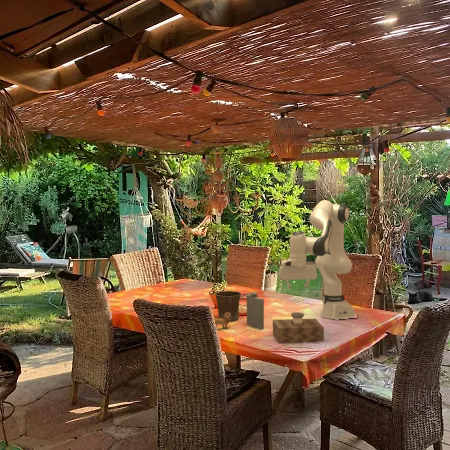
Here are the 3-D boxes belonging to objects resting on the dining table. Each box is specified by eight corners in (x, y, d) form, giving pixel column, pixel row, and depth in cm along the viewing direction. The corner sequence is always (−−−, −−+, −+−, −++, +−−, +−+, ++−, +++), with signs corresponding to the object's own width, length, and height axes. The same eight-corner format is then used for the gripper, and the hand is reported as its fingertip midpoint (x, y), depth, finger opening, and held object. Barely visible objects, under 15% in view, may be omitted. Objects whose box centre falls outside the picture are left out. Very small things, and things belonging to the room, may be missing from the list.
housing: (315, 332, 260) (315, 318, 259) (323, 341, 244) (323, 326, 243) (272, 334, 258) (272, 319, 257) (278, 343, 242) (278, 328, 241)
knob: (302, 324, 254) (302, 312, 254) (305, 328, 247) (305, 315, 247) (289, 324, 254) (290, 312, 253) (292, 328, 247) (292, 315, 246)
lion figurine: (228, 326, 274) (228, 311, 273) (233, 328, 269) (233, 313, 268) (206, 330, 266) (206, 314, 265) (211, 332, 261) (211, 316, 261)
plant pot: (211, 317, 294) (211, 291, 292) (235, 314, 300) (234, 289, 298) (220, 323, 278) (220, 297, 277) (245, 320, 284) (245, 294, 283)
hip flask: (264, 329, 267) (264, 294, 266) (258, 330, 265) (258, 295, 264) (250, 322, 281) (250, 289, 280) (244, 323, 279) (244, 290, 278)
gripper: (315, 260, 252) (315, 286, 253) (278, 261, 250) (277, 286, 251) (318, 262, 246) (318, 288, 247) (280, 263, 244) (280, 289, 245)
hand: (297, 287), depth 249 cm, fingers open, 8 cm apart
